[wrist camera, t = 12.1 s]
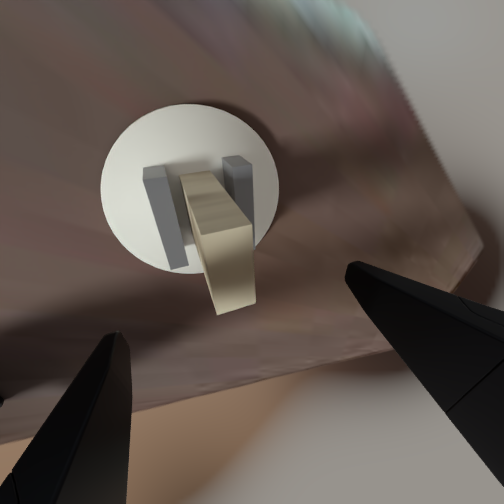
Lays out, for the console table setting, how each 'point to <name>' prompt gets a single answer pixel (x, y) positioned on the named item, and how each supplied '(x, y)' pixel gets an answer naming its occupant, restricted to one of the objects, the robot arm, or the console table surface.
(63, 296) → the console table surface
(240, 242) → the block
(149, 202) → the dish
